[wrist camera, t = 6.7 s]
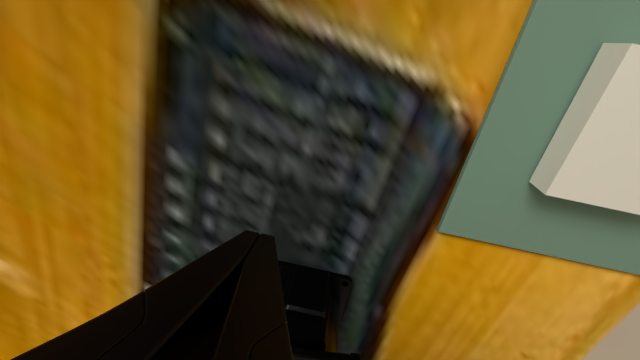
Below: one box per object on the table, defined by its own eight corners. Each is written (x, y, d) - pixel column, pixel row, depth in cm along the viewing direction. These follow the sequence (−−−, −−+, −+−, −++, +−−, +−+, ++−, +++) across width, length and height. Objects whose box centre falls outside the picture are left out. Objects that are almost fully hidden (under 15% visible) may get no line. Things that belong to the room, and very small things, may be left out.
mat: (660, 276, 22) (666, 280, 21) (437, 228, 22) (438, 231, 21) (923, -23, 14) (938, -25, 13) (572, -92, 14) (578, -96, 14)
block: (527, 180, 19) (638, 203, 19) (545, 194, 17) (667, 220, 17) (600, 42, 16) (736, 70, 16) (632, 43, 14) (785, 74, 14)
